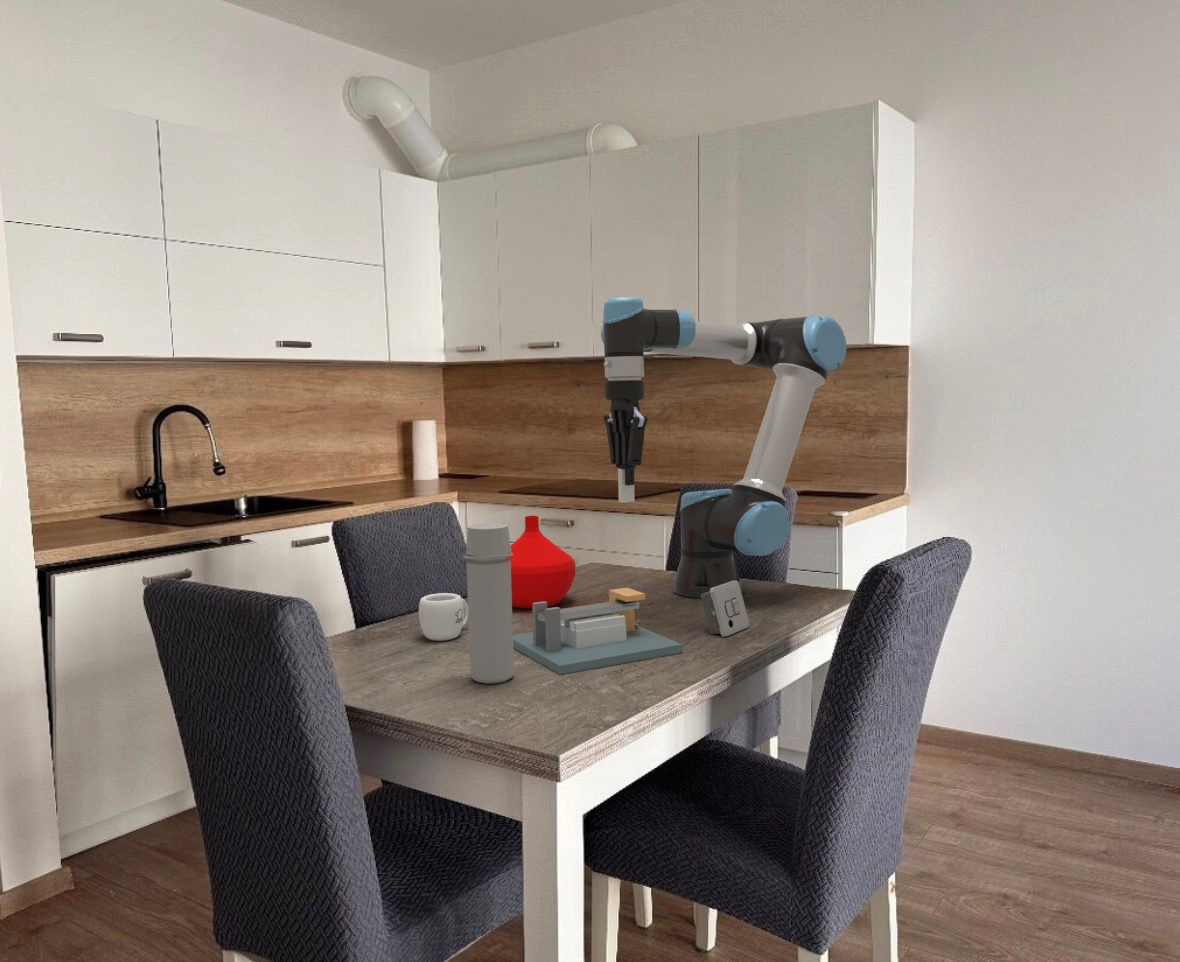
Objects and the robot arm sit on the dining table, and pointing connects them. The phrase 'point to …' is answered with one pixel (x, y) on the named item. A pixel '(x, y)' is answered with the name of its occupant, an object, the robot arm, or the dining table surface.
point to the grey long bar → (593, 609)
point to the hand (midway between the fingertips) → (626, 501)
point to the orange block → (626, 596)
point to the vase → (538, 568)
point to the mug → (442, 615)
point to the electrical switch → (725, 609)
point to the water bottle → (490, 603)
